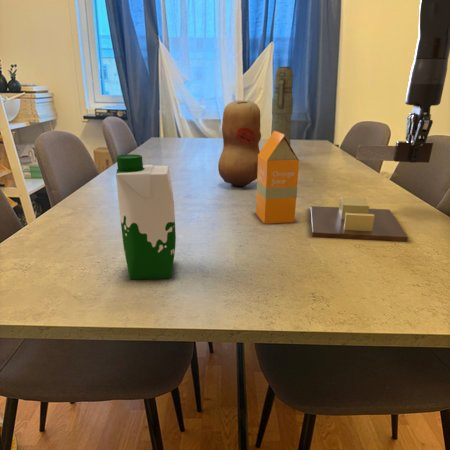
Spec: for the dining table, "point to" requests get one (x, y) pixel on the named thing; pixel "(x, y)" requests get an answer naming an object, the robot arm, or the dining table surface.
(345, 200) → the butter block
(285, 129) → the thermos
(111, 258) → the dining table surface
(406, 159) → the knife
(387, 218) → the board
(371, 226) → the butter slice
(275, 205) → the orange juice
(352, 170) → the dining table surface
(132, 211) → the milk carton
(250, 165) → the butternut squash
